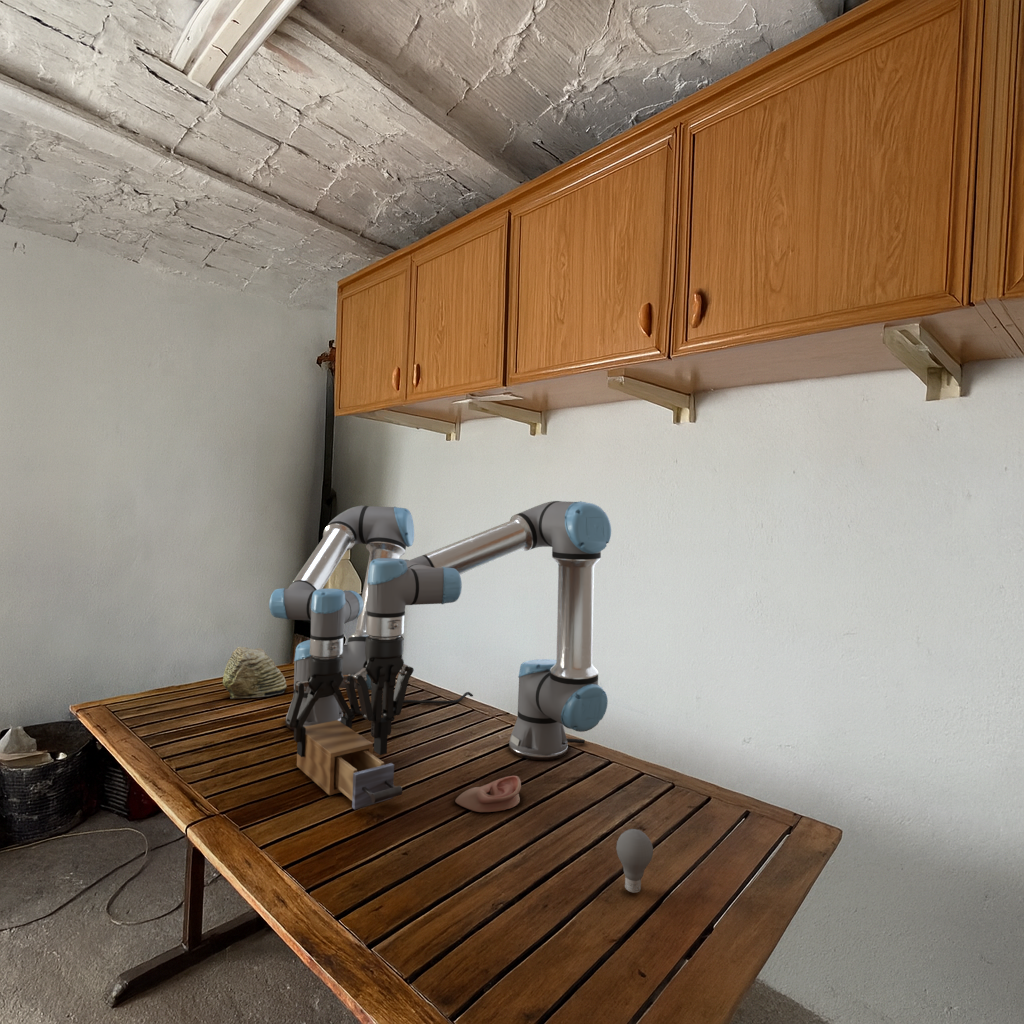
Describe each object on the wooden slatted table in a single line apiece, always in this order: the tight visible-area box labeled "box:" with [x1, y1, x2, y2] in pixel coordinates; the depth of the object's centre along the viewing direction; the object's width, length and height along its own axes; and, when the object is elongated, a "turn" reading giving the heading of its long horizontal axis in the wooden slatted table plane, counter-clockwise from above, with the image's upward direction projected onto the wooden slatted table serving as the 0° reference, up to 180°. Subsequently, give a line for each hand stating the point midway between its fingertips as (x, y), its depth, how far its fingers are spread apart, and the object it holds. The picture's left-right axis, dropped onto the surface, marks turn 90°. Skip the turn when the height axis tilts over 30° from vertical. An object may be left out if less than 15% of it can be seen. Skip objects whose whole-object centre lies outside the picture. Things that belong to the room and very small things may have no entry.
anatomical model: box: [454, 775, 522, 813], centre depth 135 cm, size 13×4×12 cm
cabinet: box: [296, 720, 374, 796], centre depth 144 cm, size 18×10×9 cm, turn 40°
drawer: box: [334, 750, 403, 811], centre depth 134 cm, size 23×9×7 cm, turn 40°
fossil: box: [222, 646, 288, 699], centre depth 198 cm, size 9×18×15 cm, turn 132°
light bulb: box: [615, 828, 654, 894], centre depth 106 cm, size 6×6×10 cm
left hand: (322, 749), depth 149 cm, fingers closed on cabinet, 10 cm apart
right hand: (380, 752), depth 128 cm, fingers closed
